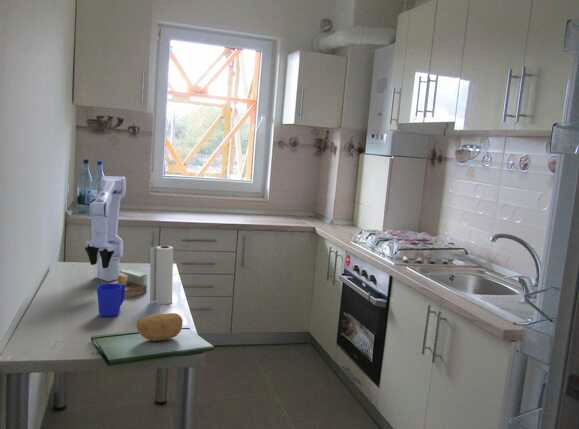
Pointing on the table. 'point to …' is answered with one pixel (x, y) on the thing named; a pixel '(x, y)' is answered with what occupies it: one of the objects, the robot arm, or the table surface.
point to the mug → (110, 299)
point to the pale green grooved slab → (135, 277)
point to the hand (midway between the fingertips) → (99, 266)
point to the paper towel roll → (161, 274)
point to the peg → (122, 279)
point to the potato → (160, 326)
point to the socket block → (133, 289)
